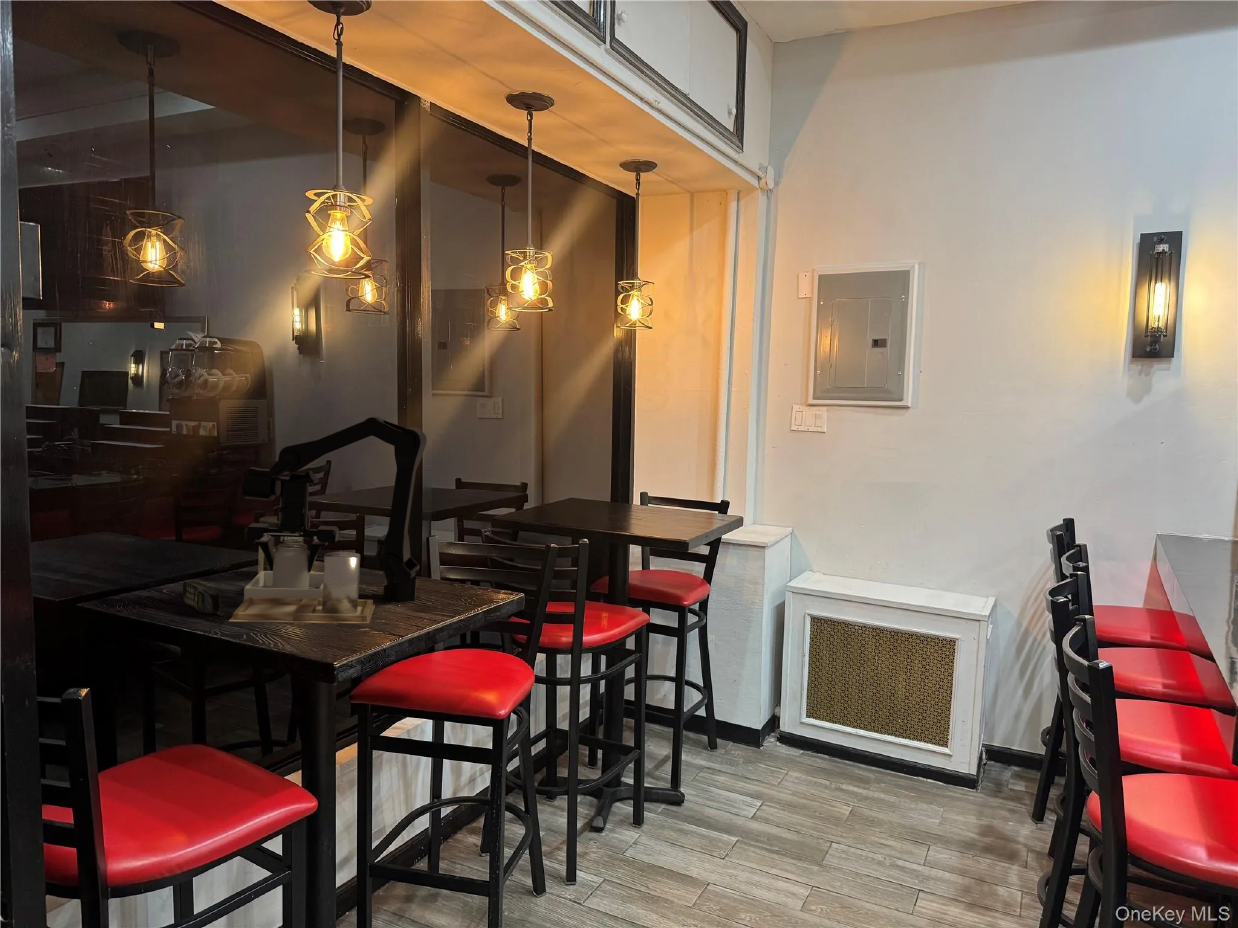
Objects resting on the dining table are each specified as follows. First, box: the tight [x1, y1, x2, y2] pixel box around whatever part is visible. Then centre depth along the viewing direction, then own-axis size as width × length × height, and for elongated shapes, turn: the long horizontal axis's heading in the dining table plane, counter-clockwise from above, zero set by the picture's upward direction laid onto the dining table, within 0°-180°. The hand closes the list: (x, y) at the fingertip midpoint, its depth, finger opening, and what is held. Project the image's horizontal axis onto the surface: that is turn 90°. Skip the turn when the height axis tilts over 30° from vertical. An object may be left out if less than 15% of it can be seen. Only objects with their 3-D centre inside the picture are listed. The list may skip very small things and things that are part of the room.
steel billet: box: [322, 551, 361, 614], centre depth 166 cm, size 7×7×12 cm
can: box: [271, 543, 311, 589], centre depth 179 cm, size 8×8×12 cm
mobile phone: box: [182, 580, 226, 617], centre depth 166 cm, size 5×3×15 cm
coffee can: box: [257, 515, 305, 575], centre depth 197 cm, size 10×10×14 cm
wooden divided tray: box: [228, 597, 376, 624], centre depth 165 cm, size 26×14×3 cm, turn 102°
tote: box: [243, 571, 323, 602], centre depth 179 cm, size 16×16×4 cm
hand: (291, 571), depth 179 cm, fingers closed on can, 7 cm apart
